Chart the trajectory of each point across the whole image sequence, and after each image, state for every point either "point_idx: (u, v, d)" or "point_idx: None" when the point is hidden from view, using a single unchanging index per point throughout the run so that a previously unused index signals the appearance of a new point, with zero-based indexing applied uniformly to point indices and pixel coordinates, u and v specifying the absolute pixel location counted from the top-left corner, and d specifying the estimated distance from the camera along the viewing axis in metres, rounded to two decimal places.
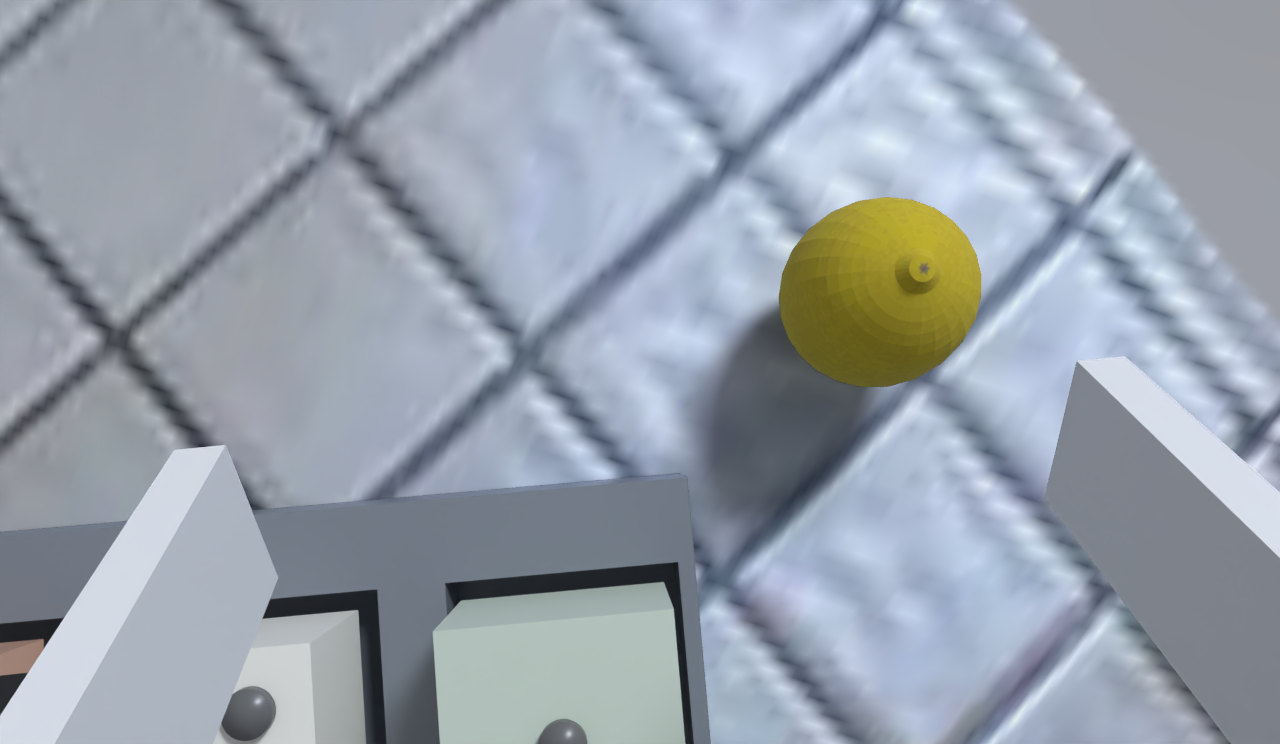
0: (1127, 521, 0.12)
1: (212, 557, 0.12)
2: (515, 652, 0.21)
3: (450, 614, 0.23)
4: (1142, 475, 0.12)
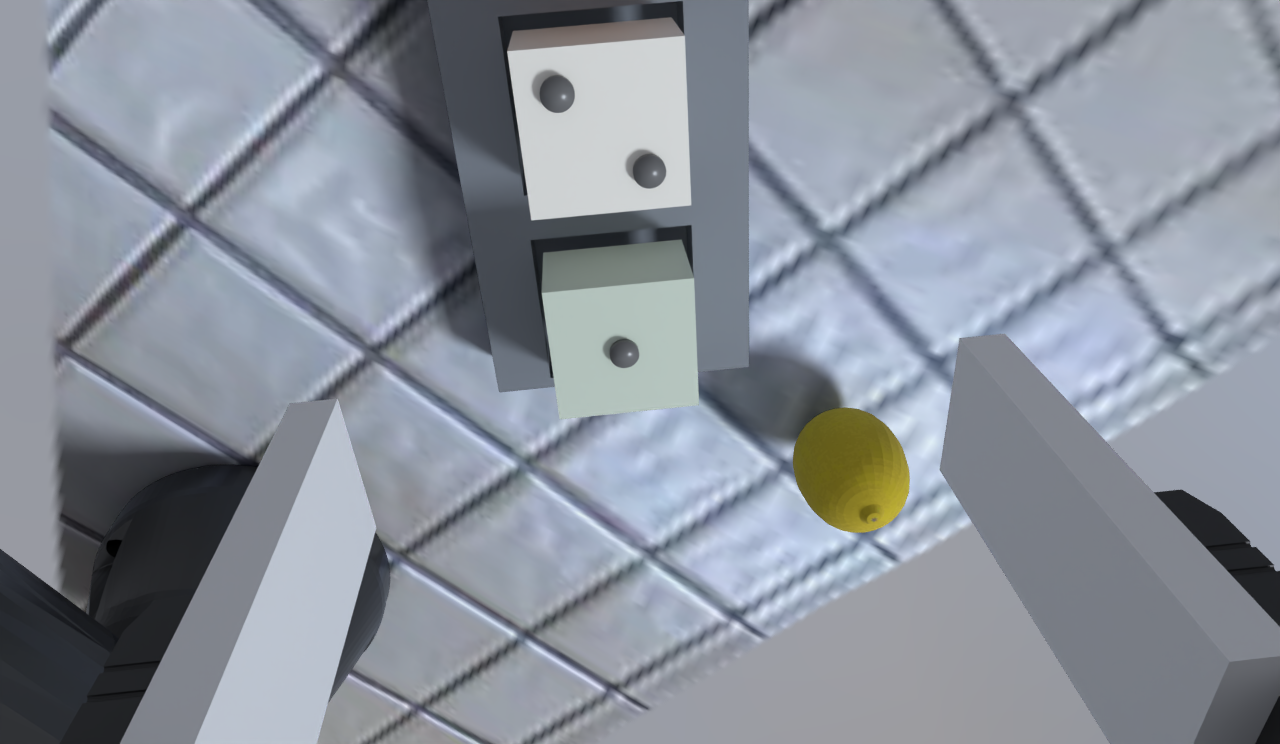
0: (998, 486, 0.13)
1: (332, 501, 0.13)
2: (678, 324, 0.34)
3: (687, 259, 0.35)
4: (1007, 442, 0.12)
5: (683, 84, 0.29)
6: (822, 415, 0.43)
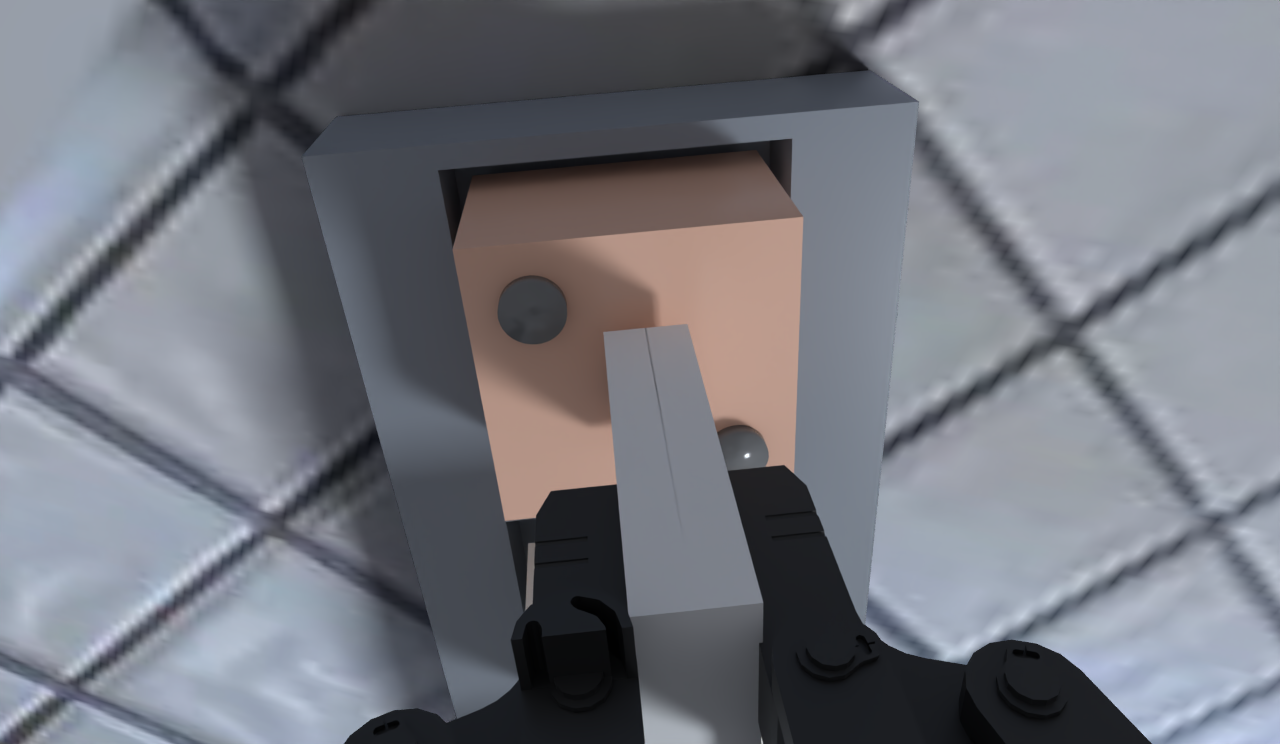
0: None
1: None
2: None
3: None
4: None
5: None
6: None
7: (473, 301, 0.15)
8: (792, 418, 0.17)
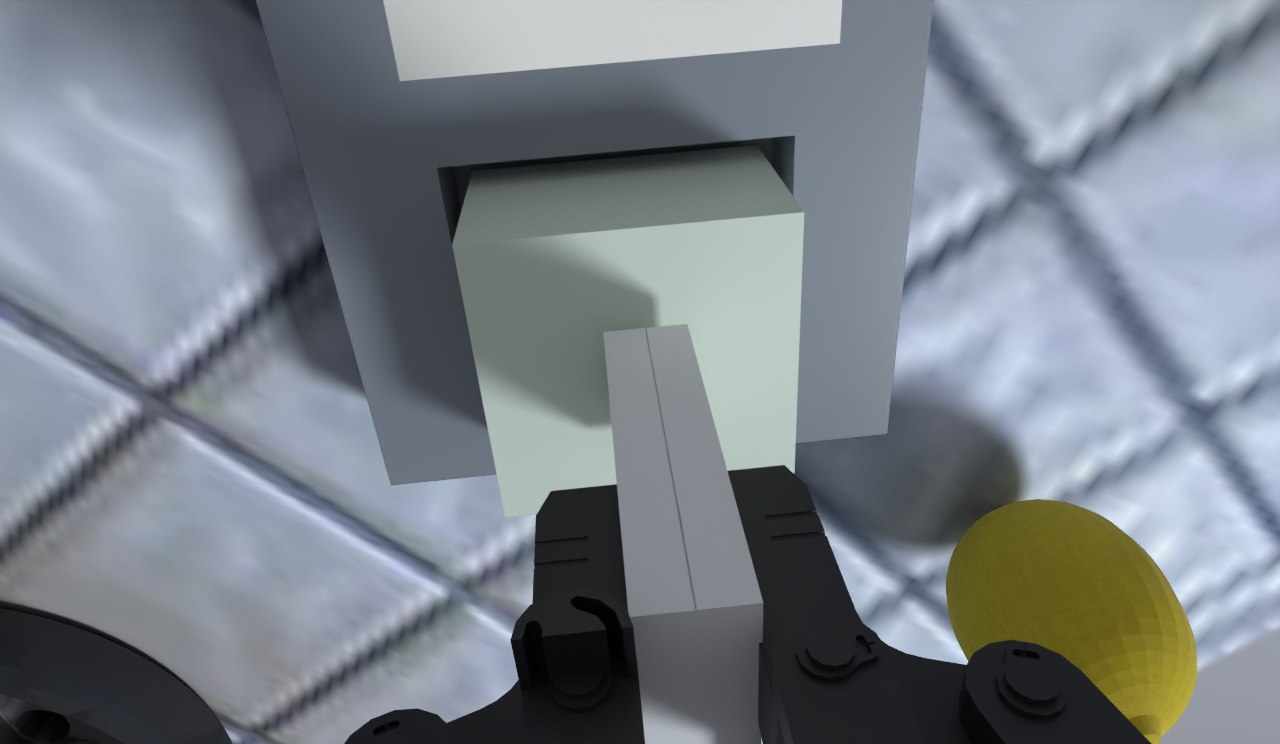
0: None
1: None
2: (762, 318, 0.15)
3: None
4: None
5: None
6: (1007, 516, 0.23)
7: None
8: None
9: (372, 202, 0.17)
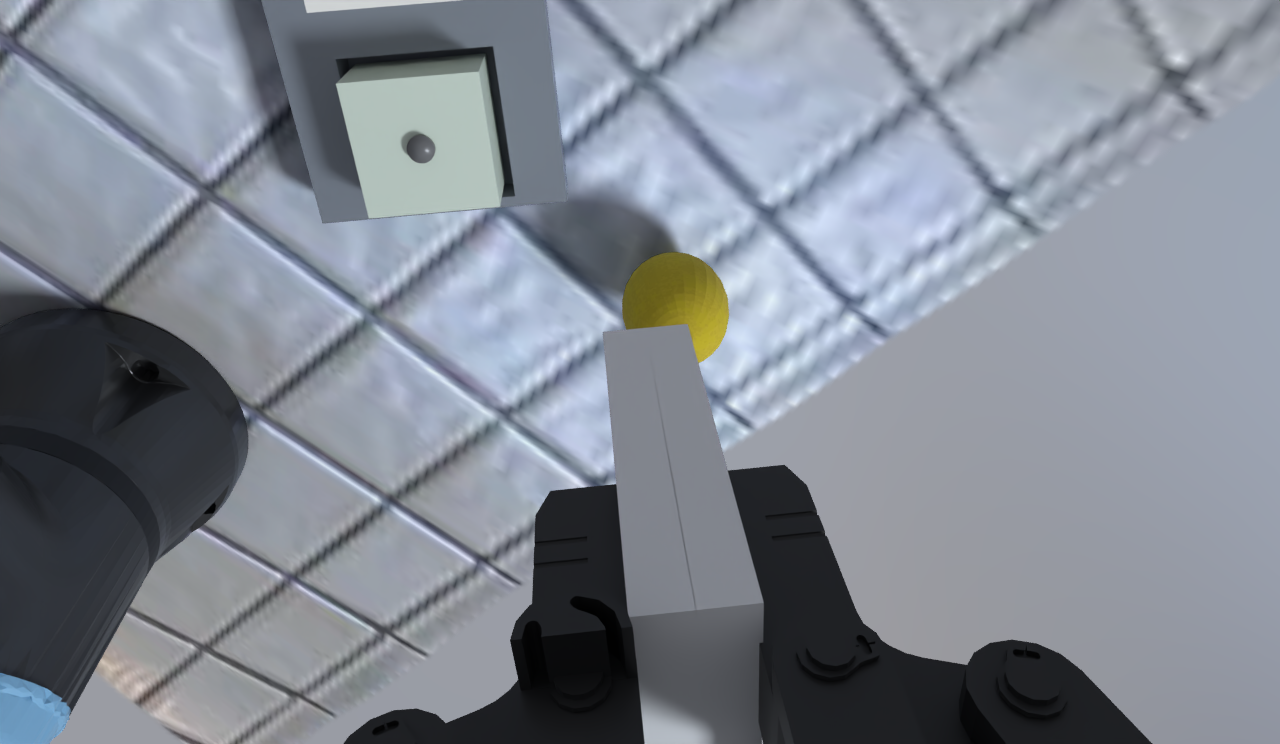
0: None
1: None
2: (470, 120, 0.37)
3: (482, 63, 0.38)
4: None
5: None
6: None
7: None
8: None
9: (308, 75, 0.38)
